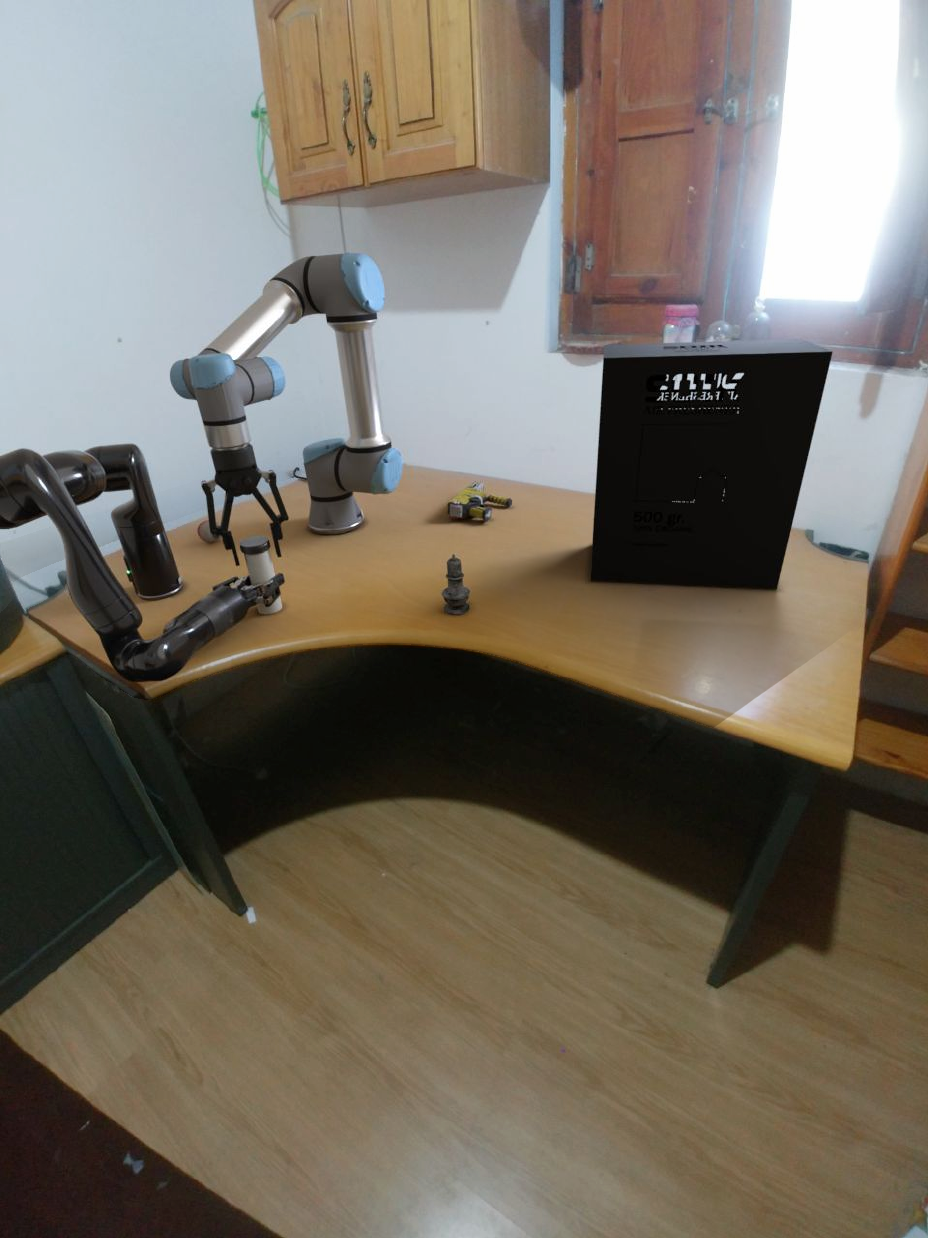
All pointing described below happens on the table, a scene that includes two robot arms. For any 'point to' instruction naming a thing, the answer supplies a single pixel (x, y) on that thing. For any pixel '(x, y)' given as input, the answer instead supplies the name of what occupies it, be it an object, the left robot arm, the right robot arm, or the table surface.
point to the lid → (254, 545)
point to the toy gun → (474, 503)
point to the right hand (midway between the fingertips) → (258, 558)
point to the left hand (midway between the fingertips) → (271, 575)
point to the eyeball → (207, 532)
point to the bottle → (262, 577)
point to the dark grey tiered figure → (455, 588)
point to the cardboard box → (703, 460)
